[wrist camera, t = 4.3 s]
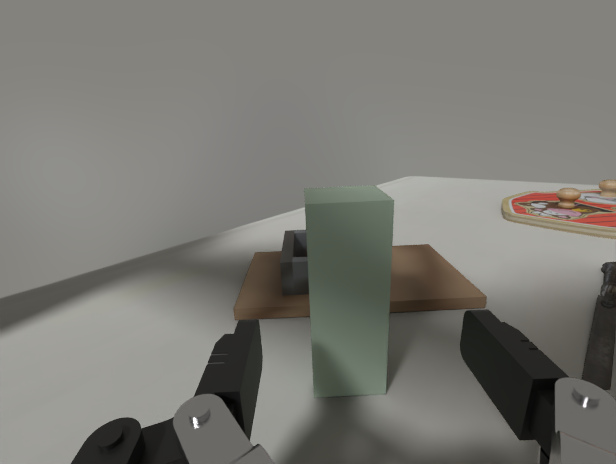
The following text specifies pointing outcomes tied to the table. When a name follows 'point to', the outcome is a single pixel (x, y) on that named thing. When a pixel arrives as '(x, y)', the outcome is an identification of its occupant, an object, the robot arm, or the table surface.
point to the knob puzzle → (567, 210)
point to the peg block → (349, 288)
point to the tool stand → (403, 291)
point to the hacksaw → (603, 333)
